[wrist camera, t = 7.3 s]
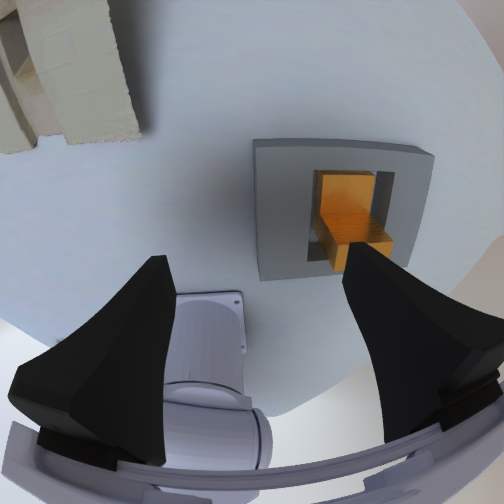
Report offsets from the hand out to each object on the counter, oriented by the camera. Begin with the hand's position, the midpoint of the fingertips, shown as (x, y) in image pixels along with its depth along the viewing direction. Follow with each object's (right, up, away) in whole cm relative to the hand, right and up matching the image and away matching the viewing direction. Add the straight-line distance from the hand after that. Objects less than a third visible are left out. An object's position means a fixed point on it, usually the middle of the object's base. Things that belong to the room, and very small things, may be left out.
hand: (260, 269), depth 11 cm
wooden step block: (+6, +5, +9) cm, 12 cm away
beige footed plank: (-14, +14, +1) cm, 21 cm away
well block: (+6, +4, +9) cm, 12 cm away
